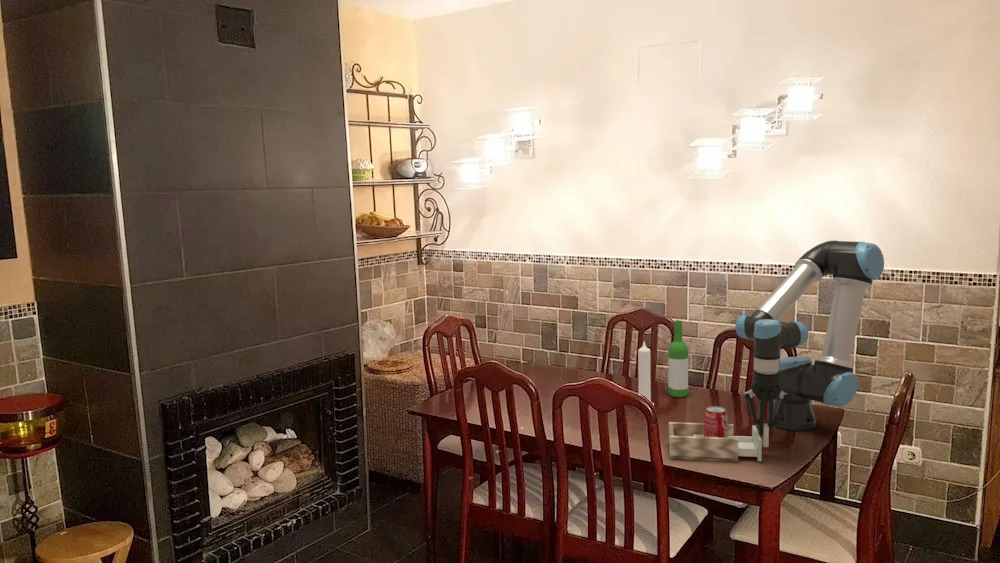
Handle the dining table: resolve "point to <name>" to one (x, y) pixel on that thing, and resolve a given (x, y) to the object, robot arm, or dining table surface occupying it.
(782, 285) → the robot arm
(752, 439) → the drawer
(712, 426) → the soda can
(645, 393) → the candle
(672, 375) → the wine bottle
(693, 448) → the light brown hollow box
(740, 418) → the dining table surface
